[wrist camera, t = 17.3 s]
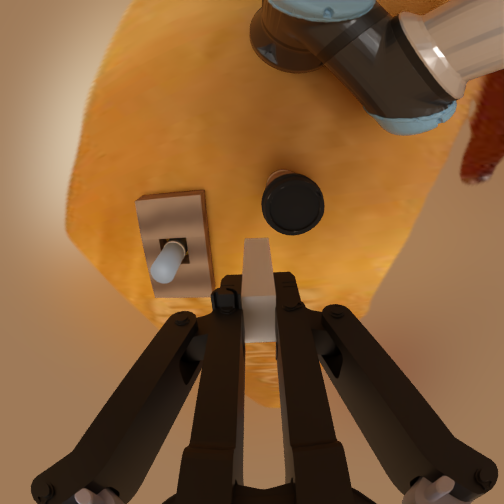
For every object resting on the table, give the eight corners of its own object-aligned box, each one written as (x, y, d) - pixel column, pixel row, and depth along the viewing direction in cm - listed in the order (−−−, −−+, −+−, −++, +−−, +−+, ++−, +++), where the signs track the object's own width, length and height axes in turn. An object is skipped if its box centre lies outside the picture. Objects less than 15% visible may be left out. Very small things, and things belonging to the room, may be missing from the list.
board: (142, 195, 49) (134, 201, 45) (204, 189, 49) (200, 194, 45) (160, 287, 57) (155, 297, 54) (215, 286, 57) (212, 297, 53)
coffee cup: (315, 191, 49) (338, 217, 35) (276, 217, 51) (285, 251, 37) (289, 153, 46) (305, 163, 32) (249, 180, 48) (248, 201, 34)
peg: (168, 233, 52) (147, 261, 41) (188, 232, 52) (172, 260, 41) (171, 252, 54) (153, 283, 43) (191, 251, 54) (176, 283, 43)
